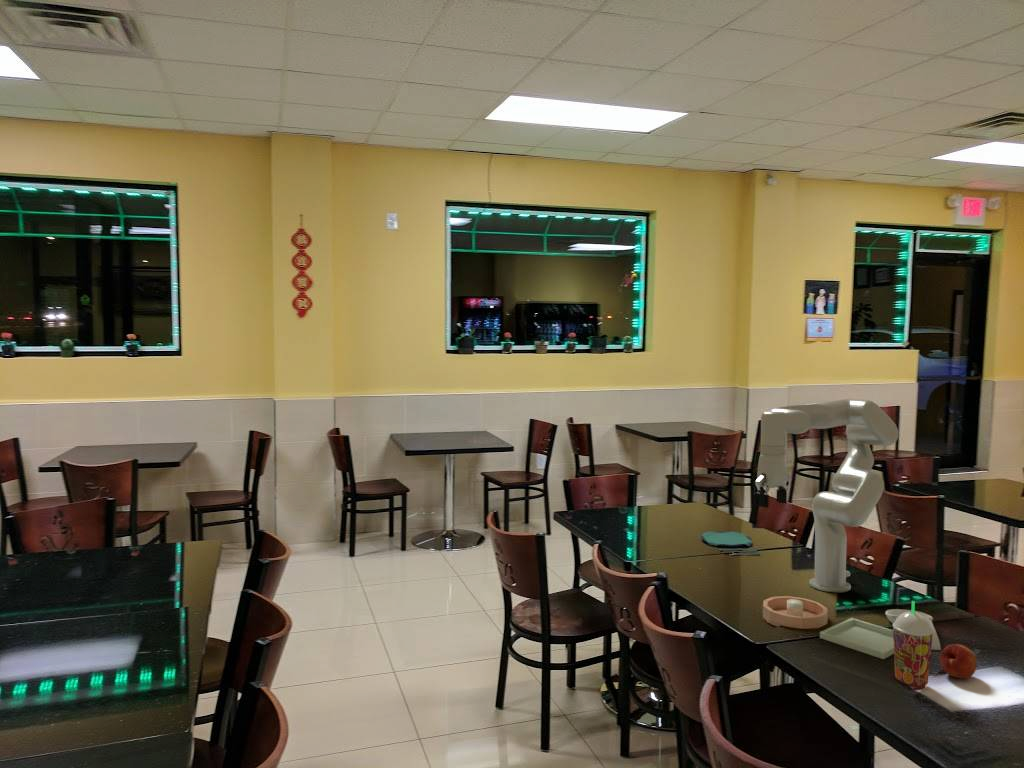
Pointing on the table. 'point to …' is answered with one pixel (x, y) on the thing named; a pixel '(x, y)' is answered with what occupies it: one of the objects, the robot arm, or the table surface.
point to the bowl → (777, 615)
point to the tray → (861, 637)
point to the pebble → (794, 607)
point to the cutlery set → (729, 541)
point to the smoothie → (912, 648)
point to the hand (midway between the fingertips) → (772, 504)
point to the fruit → (958, 661)
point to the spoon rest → (895, 613)
